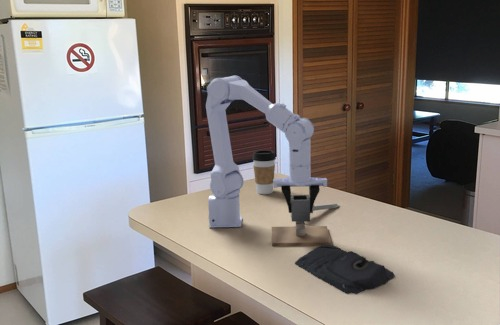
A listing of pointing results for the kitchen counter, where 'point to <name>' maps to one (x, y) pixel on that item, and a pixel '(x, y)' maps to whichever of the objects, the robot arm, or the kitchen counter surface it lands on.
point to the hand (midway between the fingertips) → (300, 211)
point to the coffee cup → (264, 170)
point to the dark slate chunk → (344, 269)
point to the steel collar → (300, 208)
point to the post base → (300, 235)
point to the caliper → (324, 206)
